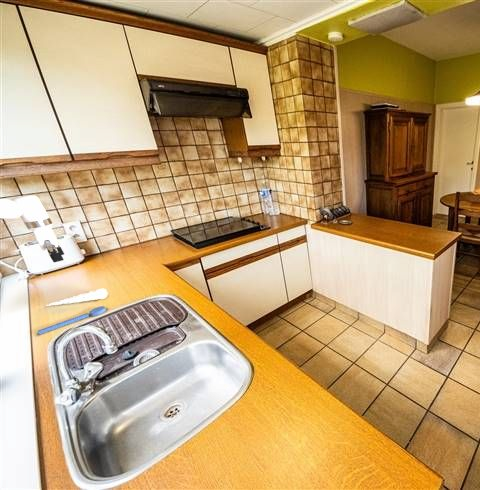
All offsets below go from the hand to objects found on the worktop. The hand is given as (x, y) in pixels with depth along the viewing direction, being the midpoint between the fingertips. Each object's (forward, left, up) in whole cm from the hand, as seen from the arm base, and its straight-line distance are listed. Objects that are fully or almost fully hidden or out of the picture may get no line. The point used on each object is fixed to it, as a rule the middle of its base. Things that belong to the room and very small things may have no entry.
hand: (59, 258), depth 124 cm
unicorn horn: (0, -14, -19) cm, 23 cm away
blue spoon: (-1, -33, -19) cm, 38 cm away
